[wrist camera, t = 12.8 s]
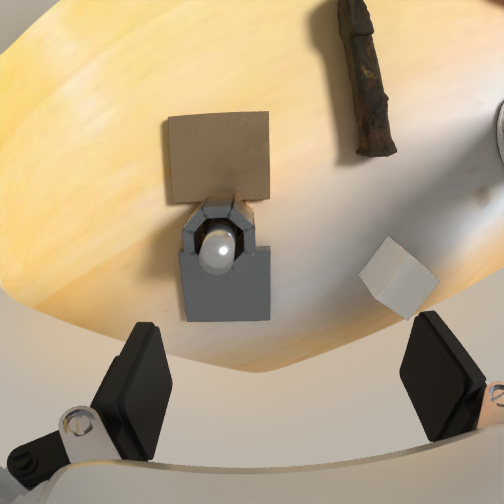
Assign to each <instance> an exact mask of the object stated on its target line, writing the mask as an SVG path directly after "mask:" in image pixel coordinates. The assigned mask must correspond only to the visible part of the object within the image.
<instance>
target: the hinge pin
mask: <svg viewBox="0 0 504 504" xmlns="http://www.w3.org/2000/svg"><path fill="white" fill-rule="evenodd" d="M236 231H237V225H236V224H235V223H234V222H233V221H232V220H230V219H229V218H228V217H227V218H212V220H211V223H210V226H209V228H208V231H207V234H206V236H205V239H204V242H203V244H202V247H201V250H200V253H199V263H200V265H201V267H202V268H203V269H204V270H205V271H206V272H208V273H210V274H214V275H220V274H224V273H226V272H227V271H228V270H230V268H231V267H232V265H233V262H234V252H235V241H236Z"/></svg>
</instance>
